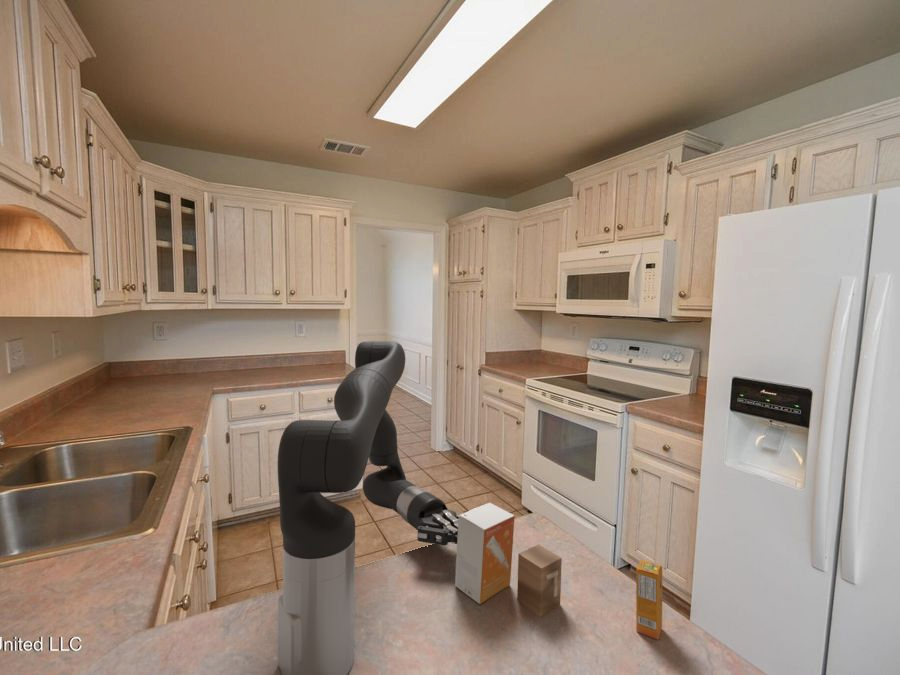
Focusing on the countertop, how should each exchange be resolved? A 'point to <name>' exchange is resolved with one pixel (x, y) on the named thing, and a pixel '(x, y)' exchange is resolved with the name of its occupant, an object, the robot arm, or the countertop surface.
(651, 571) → the supplement box
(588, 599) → the countertop surface
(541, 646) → the countertop surface
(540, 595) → the walnut digit block
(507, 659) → the countertop surface
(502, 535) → the small box
